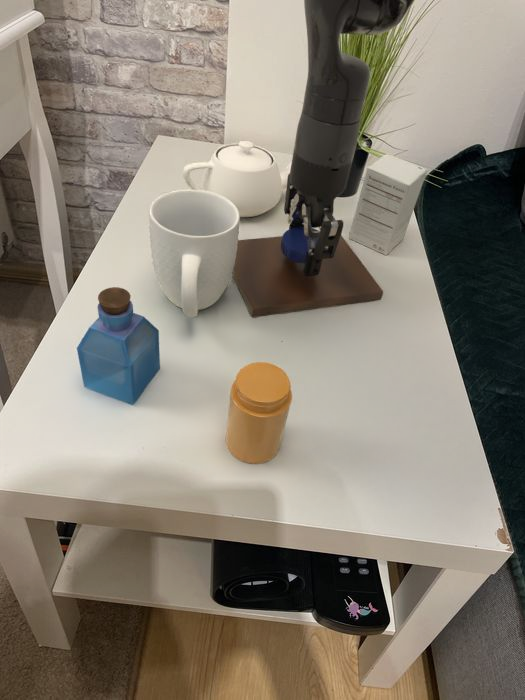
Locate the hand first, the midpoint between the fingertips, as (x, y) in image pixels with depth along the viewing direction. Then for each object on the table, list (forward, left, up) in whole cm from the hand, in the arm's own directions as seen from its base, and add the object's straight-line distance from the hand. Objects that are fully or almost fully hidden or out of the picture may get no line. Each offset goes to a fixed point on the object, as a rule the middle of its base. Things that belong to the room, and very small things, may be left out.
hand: (301, 260), depth 77 cm
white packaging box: (-17, -7, -3) cm, 19 cm away
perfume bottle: (+28, +15, -3) cm, 32 cm away
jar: (+16, +27, -3) cm, 31 cm away
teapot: (+2, -21, -3) cm, 21 cm away
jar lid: (0, 0, +3) cm, 3 cm away
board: (0, 0, -3) cm, 3 cm away
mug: (+17, +3, -3) cm, 18 cm away
